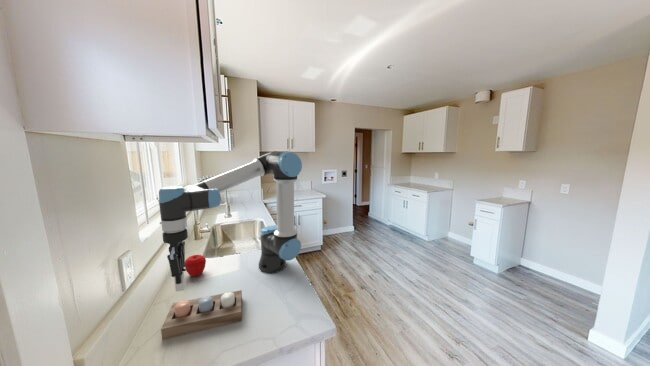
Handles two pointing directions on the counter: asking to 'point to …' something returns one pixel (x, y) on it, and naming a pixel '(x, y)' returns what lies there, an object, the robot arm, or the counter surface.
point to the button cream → (227, 300)
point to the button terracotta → (182, 309)
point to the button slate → (205, 304)
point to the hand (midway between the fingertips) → (180, 289)
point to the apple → (195, 265)
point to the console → (202, 317)
